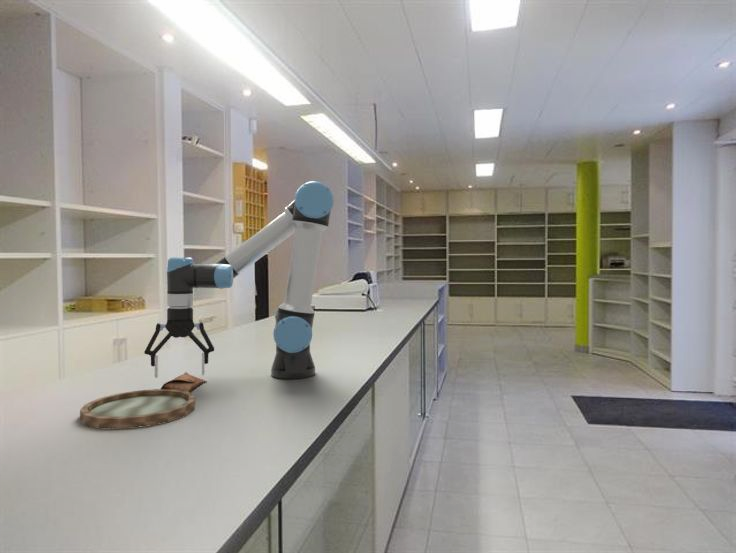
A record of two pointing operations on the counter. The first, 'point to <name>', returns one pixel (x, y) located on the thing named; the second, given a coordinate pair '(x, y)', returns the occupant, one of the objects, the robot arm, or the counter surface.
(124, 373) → the counter surface
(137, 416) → the tray
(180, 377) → the sunglasses case
